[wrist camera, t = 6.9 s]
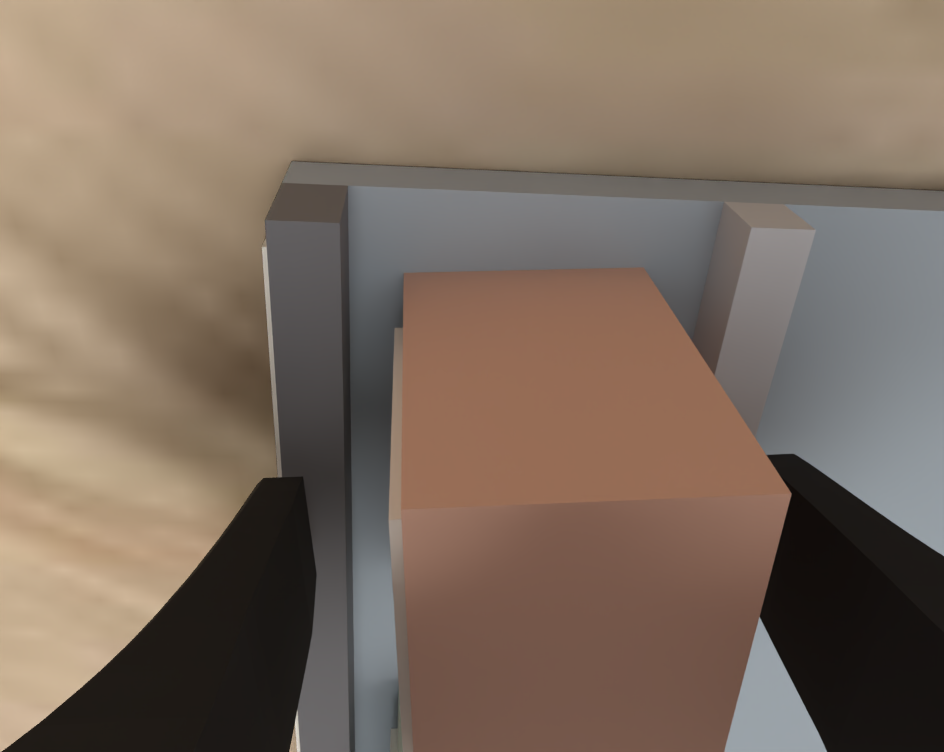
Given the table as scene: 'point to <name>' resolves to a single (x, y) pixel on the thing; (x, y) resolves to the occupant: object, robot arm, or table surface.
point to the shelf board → (695, 306)
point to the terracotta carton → (569, 519)
